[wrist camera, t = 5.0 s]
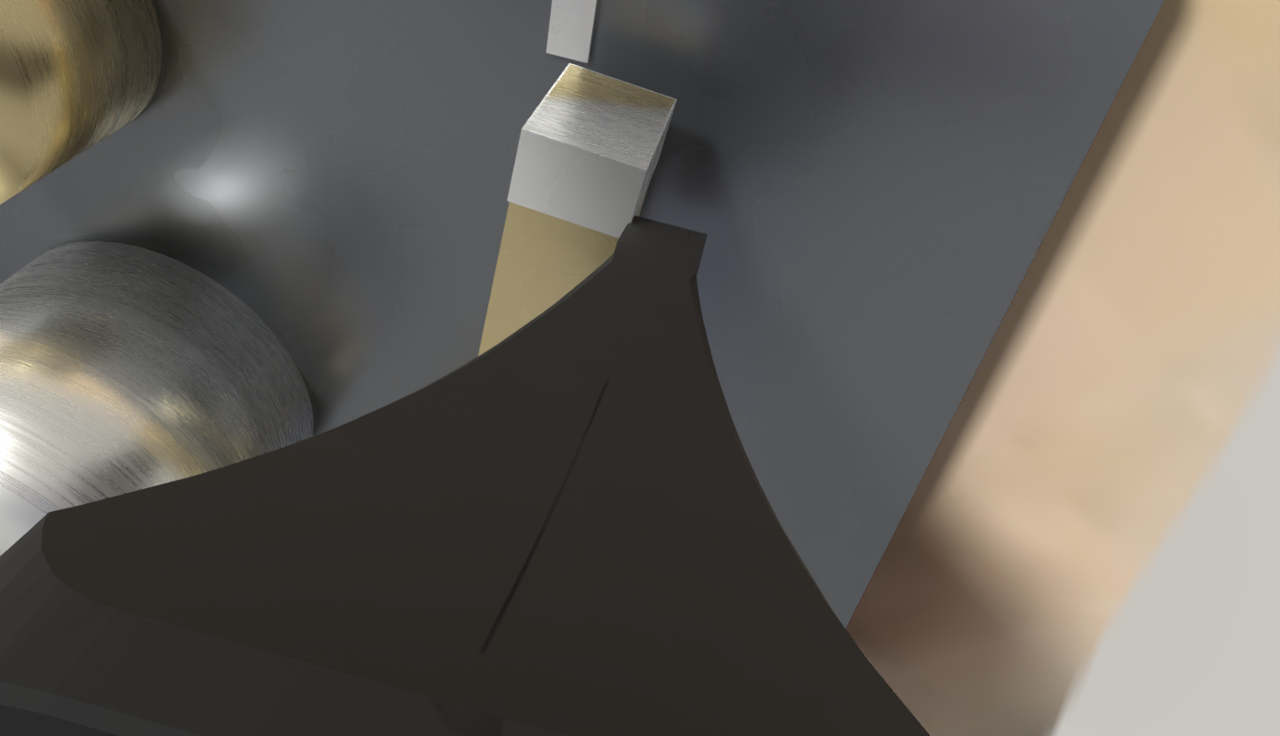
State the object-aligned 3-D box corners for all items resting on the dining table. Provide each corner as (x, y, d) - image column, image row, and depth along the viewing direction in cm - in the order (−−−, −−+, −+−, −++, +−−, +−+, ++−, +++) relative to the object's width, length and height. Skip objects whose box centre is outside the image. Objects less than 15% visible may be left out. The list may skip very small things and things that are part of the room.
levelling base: (758, 749, 21) (723, 1101, 16) (81, 562, 22) (-161, 843, 17) (1175, -128, 10) (1489, 92, 5) (-207, -450, 11) (-1169, -544, 6)
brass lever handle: (589, 676, 18) (550, 820, 16) (365, 602, 18) (295, 736, 16) (815, 127, 11) (802, 248, 9) (447, 4, 11) (340, 92, 9)
